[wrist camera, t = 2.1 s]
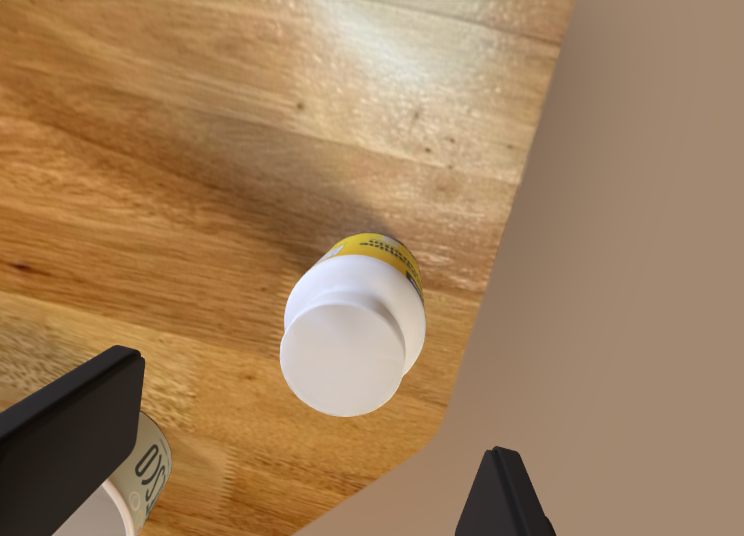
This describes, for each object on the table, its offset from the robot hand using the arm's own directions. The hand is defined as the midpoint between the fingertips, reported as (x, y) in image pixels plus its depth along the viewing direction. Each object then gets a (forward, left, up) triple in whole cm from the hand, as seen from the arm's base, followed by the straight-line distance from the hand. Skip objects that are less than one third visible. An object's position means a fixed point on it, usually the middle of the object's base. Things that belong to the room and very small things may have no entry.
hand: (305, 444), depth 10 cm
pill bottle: (0, 0, -16) cm, 16 cm away
